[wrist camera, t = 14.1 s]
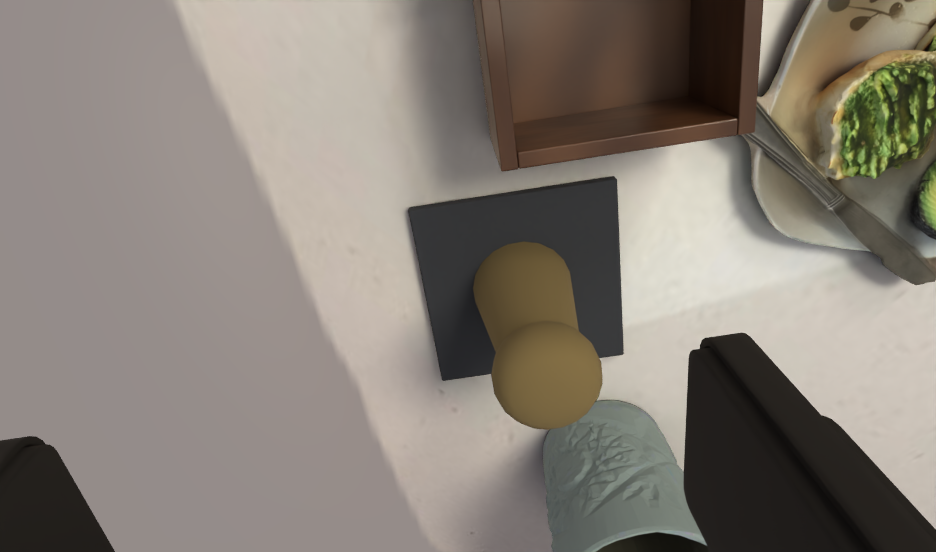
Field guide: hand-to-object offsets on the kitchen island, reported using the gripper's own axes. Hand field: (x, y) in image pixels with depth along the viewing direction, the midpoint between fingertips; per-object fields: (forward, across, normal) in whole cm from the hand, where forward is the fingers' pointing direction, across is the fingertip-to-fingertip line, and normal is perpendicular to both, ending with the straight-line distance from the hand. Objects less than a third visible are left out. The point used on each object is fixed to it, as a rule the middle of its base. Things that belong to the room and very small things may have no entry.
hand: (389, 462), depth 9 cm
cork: (+26, -5, +11) cm, 28 cm away
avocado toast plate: (+26, -27, +4) cm, 38 cm away
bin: (+26, -10, -4) cm, 28 cm away
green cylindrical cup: (+26, -9, +25) cm, 37 cm away
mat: (+26, -5, +11) cm, 29 cm away
